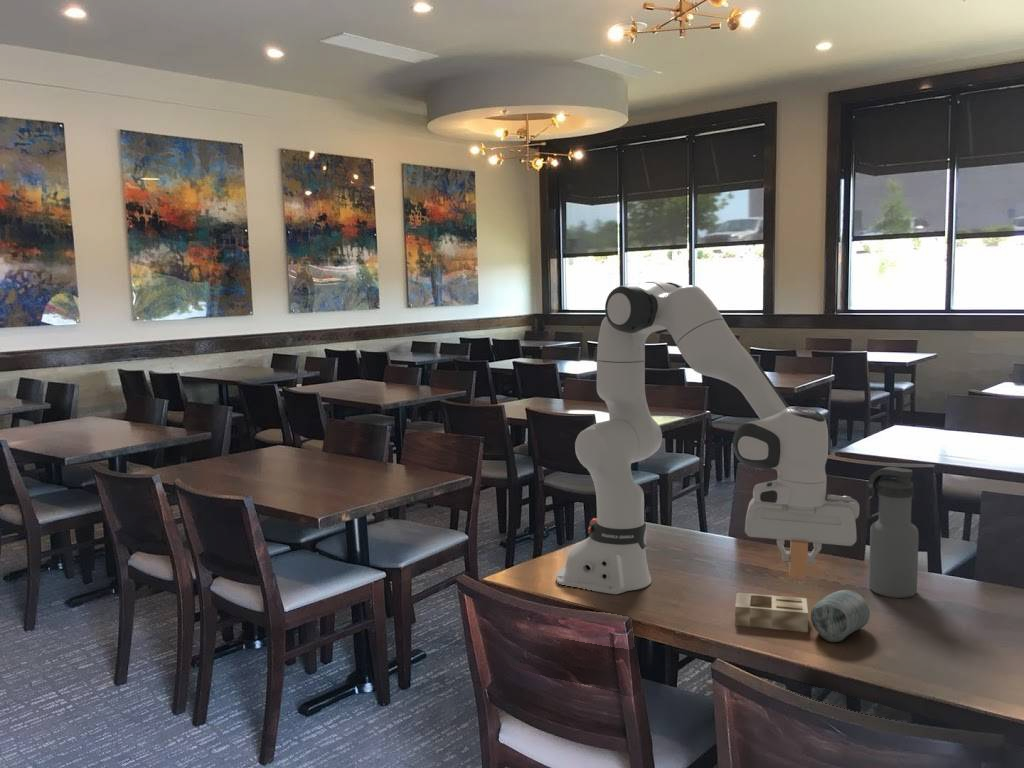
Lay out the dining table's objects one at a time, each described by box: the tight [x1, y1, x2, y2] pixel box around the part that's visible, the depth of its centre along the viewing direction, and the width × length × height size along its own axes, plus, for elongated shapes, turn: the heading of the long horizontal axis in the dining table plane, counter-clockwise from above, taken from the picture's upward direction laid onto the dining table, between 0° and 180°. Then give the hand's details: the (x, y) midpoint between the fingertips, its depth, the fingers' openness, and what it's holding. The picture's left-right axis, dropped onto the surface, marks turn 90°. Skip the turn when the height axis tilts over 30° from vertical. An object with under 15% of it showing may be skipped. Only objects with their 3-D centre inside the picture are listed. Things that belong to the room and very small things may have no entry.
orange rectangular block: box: [788, 540, 809, 580], centre depth 155 cm, size 3×5×7 cm, turn 162°
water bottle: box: [866, 466, 920, 599], centre depth 180 cm, size 10×10×28 cm
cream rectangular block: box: [734, 592, 809, 633], centre depth 166 cm, size 14×8×4 cm, turn 72°
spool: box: [810, 589, 871, 643], centre depth 159 cm, size 14×10×10 cm
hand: (797, 562), depth 156 cm, fingers closed on orange rectangular block, 3 cm apart
